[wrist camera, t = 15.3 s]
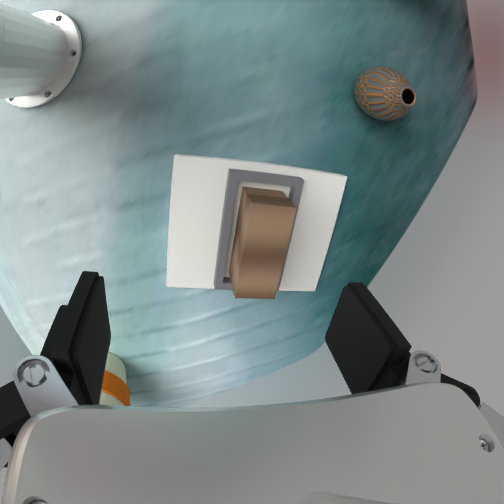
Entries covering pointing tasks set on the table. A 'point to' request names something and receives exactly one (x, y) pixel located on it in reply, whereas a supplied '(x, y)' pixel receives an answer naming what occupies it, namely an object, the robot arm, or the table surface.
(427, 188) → the table surface
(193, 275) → the slot board
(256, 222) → the walnut bar
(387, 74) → the vase
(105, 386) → the reusable coffee cup
